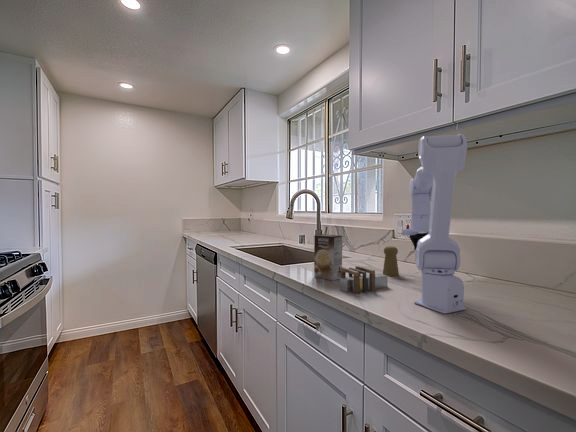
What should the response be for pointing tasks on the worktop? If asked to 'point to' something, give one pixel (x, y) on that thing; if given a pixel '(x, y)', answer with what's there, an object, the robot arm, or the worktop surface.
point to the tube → (348, 282)
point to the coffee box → (327, 256)
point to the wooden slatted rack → (357, 273)
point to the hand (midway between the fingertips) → (420, 256)
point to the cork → (390, 261)
